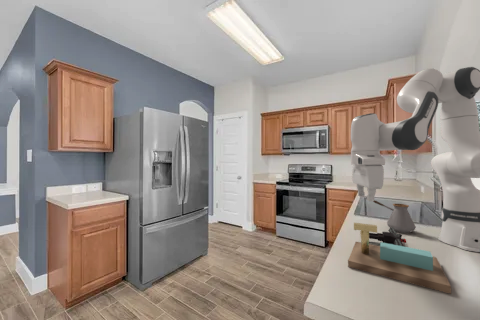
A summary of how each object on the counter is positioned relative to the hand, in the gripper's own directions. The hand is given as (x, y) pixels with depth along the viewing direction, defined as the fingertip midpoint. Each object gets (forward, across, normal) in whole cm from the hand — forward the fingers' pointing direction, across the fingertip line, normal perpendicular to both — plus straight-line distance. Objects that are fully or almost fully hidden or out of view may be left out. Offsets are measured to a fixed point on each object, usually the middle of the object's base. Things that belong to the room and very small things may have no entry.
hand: (365, 198), depth 74 cm
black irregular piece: (+22, -16, +11) cm, 29 cm away
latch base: (+21, +3, +7) cm, 23 cm away
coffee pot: (+22, -40, +23) cm, 51 cm away
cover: (+19, +4, +10) cm, 22 cm away
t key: (+19, -3, 0) cm, 19 cm away
